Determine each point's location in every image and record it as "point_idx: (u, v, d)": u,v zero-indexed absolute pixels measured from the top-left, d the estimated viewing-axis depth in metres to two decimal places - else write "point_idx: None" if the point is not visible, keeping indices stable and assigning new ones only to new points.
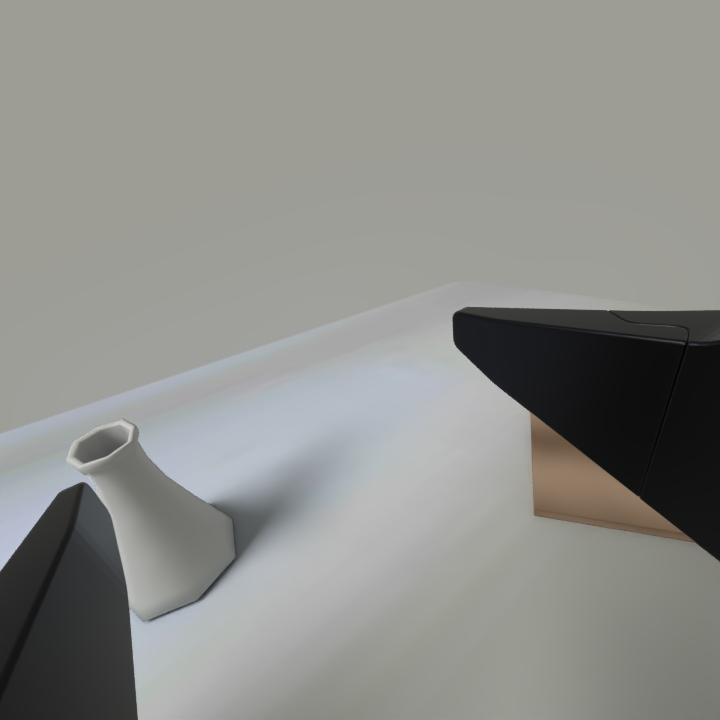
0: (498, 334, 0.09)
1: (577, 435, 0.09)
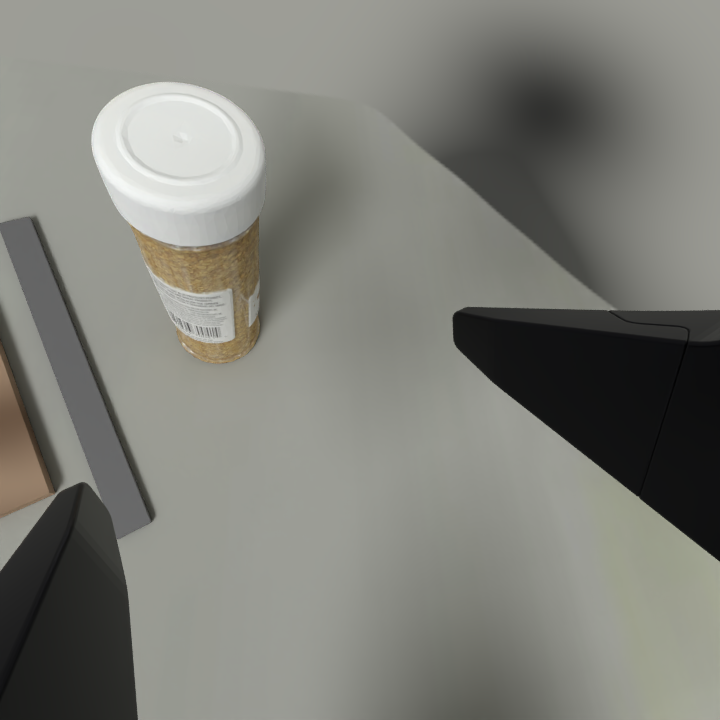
0: (498, 334, 0.09)
1: (577, 435, 0.09)
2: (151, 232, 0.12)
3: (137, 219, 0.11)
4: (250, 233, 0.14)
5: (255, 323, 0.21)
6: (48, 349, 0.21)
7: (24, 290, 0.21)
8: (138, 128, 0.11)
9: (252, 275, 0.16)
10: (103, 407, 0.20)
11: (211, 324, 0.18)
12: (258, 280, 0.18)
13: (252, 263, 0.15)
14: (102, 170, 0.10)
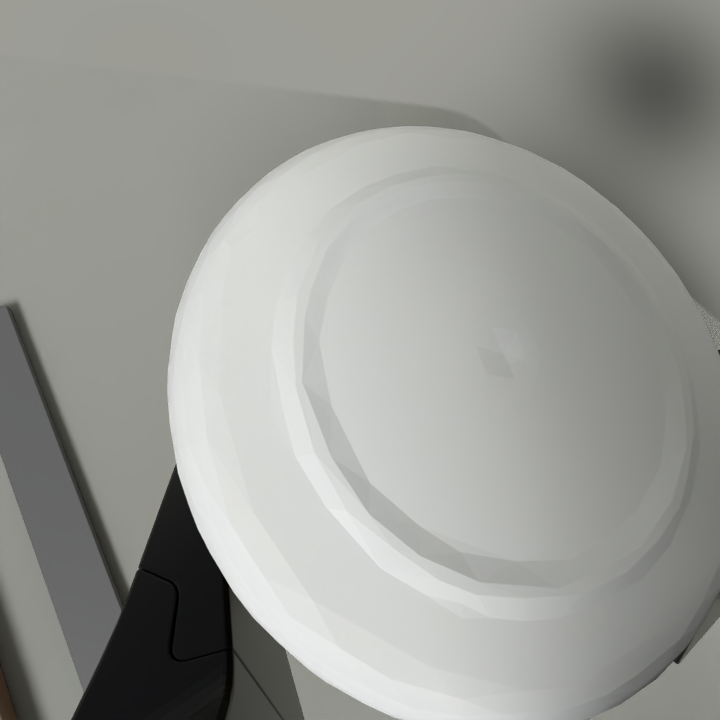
0: None
1: None
2: None
3: None
4: None
5: None
6: (36, 541, 0.12)
7: None
8: (359, 336, 0.03)
9: None
10: None
11: None
12: None
13: None
14: (227, 576, 0.02)
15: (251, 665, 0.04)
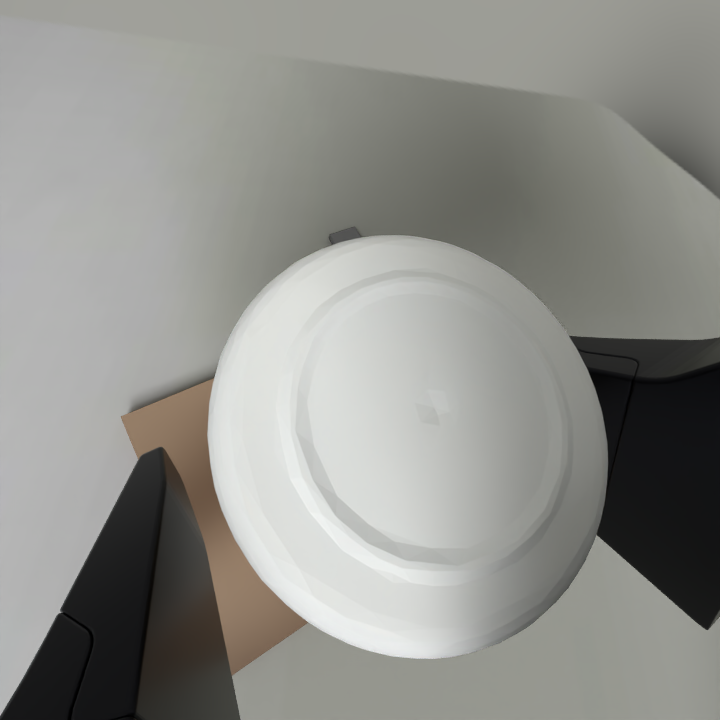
0: None
1: None
2: None
3: None
4: None
5: None
6: None
7: None
8: (333, 398, 0.04)
9: None
10: None
11: None
12: None
13: None
14: (246, 553, 0.04)
15: None
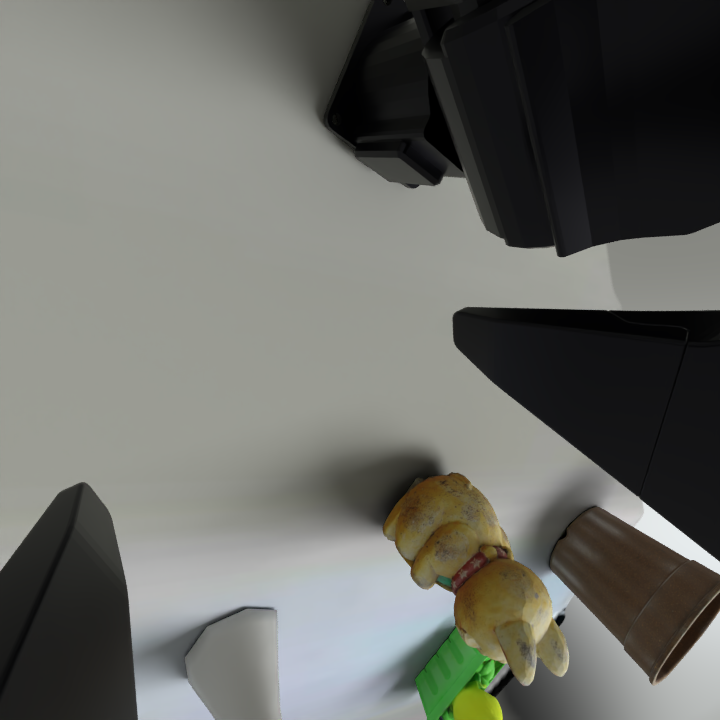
0: (498, 334, 0.09)
1: (577, 435, 0.09)
2: None
3: None
4: None
5: None
6: None
7: None
8: None
9: None
10: None
11: None
12: None
13: None
14: None
15: None
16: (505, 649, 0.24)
